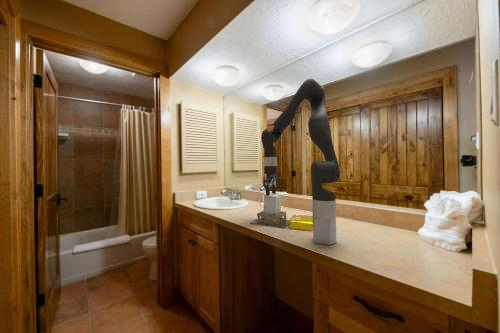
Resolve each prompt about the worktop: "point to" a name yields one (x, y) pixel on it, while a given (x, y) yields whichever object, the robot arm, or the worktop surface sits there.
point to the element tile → (301, 222)
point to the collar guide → (279, 224)
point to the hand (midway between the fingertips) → (270, 194)
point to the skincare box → (272, 206)
